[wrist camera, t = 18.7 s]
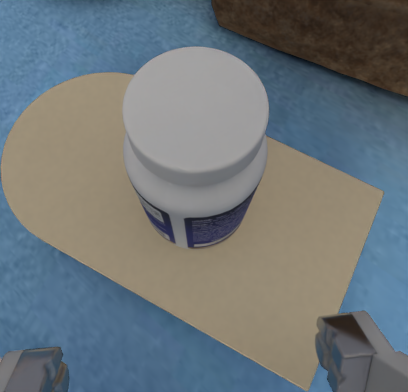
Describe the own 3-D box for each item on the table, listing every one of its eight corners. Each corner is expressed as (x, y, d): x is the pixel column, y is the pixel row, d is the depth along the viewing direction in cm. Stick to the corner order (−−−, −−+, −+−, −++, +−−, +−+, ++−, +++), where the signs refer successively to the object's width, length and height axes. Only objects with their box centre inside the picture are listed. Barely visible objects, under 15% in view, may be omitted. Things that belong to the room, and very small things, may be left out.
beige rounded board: (350, 214, 26) (385, 191, 21) (284, 376, 22) (308, 392, 17) (96, 90, 28) (77, 45, 24) (1, 215, 25) (-44, 191, 20)
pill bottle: (251, 166, 21) (296, 46, 12) (237, 260, 19) (277, 206, 10) (158, 150, 21) (129, 19, 12) (135, 241, 20) (80, 170, 10)
